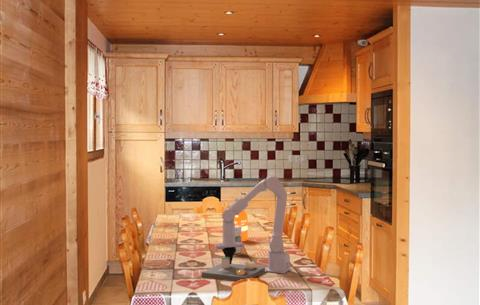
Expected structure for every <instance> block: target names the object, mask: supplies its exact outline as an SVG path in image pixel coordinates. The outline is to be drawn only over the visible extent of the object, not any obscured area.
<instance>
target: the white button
mask: <svg viewBox="0 0 480 305" xmlns="http://www.w3.org/2000/svg"><path fill="white" fill-rule="evenodd" d="M245 265H246V269H247V270H255V266H256V262H254V261H247V262H246V263H245Z"/></svg>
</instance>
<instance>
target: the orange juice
mask: <svg viewBox="0 0 480 305" xmlns="http://www.w3.org/2000/svg"><path fill="white" fill-rule="evenodd" d="M234 224H235V225H238V226H241V227H242V242H245V241H248V239H249V238H248V236H249V234H248V233H249V232H248V229H249V228H248V215H247V213H246V211H245V209H244V210H243V211H242V212H241V213H240V214H239V215H236V216H235V218H234Z"/></svg>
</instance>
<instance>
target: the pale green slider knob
mask: <svg viewBox="0 0 480 305" xmlns="http://www.w3.org/2000/svg"><path fill="white" fill-rule="evenodd" d="M220 259H221V263H222V268H229V267H230V257H225V256H221V258H220Z"/></svg>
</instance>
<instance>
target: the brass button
mask: <svg viewBox="0 0 480 305" xmlns="http://www.w3.org/2000/svg"><path fill="white" fill-rule="evenodd" d="M236 275H242V276H244V275H245V270H236Z"/></svg>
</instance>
